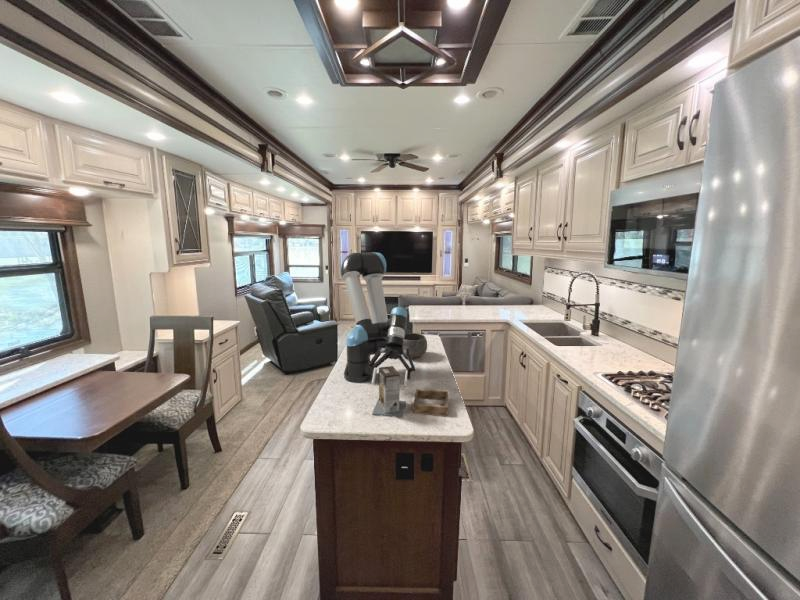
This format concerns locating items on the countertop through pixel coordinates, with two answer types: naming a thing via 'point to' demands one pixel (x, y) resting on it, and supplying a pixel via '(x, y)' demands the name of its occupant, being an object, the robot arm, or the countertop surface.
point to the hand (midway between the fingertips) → (389, 385)
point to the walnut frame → (431, 408)
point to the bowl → (415, 344)
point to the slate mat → (379, 411)
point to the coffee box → (389, 389)
